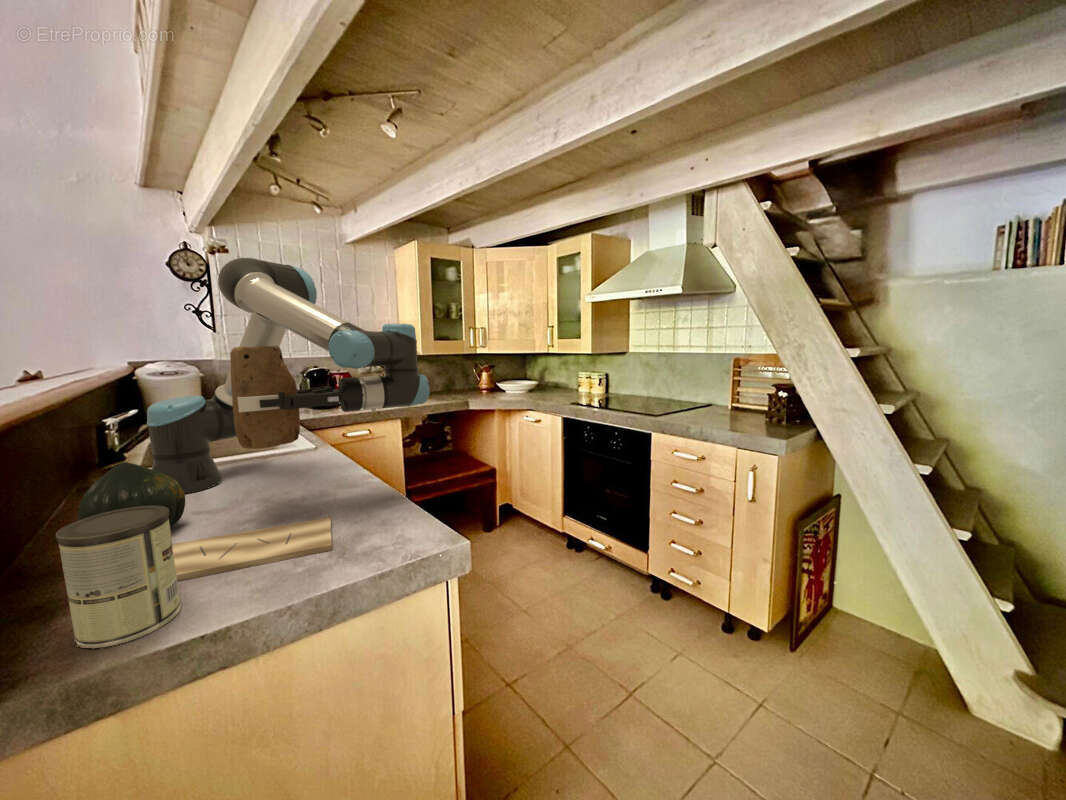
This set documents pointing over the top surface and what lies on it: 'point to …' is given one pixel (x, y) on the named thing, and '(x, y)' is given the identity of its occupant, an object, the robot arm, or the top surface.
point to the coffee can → (119, 574)
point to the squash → (133, 492)
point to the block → (262, 377)
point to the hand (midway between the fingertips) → (237, 402)
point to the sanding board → (251, 548)
